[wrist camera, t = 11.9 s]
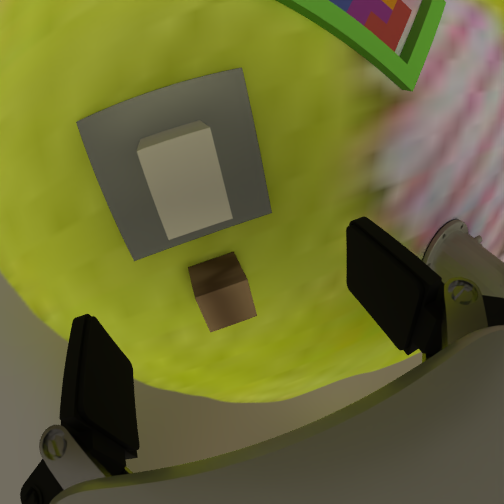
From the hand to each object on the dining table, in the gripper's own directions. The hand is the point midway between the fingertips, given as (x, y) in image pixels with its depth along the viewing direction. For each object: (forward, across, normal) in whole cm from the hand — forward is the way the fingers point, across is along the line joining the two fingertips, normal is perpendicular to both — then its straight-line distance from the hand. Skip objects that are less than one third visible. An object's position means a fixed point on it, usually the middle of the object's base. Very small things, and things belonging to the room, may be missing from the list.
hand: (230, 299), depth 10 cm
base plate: (+18, 0, 0) cm, 18 cm away
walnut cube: (+18, 0, +13) cm, 22 cm away
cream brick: (+17, 0, 0) cm, 17 cm away
